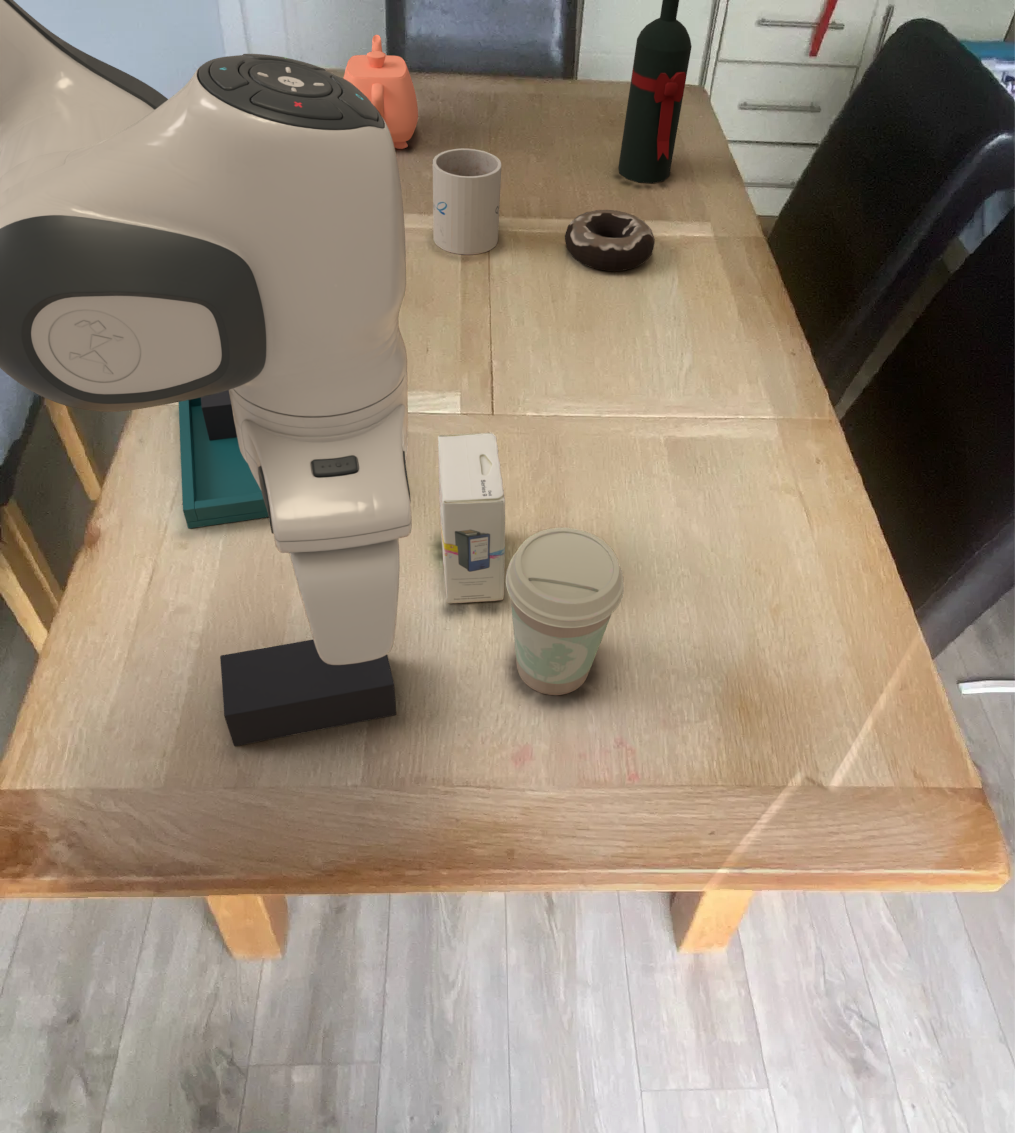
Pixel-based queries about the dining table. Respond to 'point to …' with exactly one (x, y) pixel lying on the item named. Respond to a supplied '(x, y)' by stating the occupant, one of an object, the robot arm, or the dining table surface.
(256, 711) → the loose pad
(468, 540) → the ink box
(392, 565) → the robot arm
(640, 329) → the dining table surface
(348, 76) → the teapot
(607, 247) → the donut
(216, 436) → the black rectangular block
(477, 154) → the mug
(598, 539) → the coffee cup
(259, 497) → the teal tray
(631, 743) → the dining table surface
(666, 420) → the dining table surface
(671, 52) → the wine bottle
